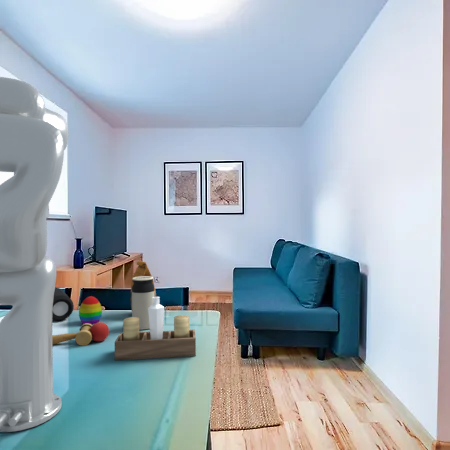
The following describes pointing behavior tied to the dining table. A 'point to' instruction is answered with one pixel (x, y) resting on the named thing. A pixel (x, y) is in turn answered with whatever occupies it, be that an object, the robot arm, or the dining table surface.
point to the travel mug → (142, 299)
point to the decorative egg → (90, 311)
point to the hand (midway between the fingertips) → (31, 241)
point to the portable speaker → (61, 305)
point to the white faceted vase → (156, 319)
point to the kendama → (84, 334)
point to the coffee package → (141, 271)
